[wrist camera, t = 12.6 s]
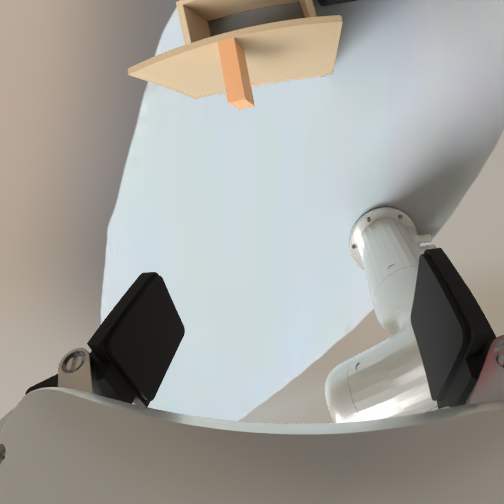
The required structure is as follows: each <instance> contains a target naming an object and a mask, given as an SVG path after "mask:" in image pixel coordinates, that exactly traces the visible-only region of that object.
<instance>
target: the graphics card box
mask: <svg viewBox="0 0 504 504" xmlns="http://www.w3.org/2000/svg"><path fill="white" fill-rule="evenodd" d="M318 1H319V3H320V5H321V6H327V5H332V4H337V3H343V2H349V1H356V0H318Z"/></svg>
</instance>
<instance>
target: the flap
mask: <svg viewBox="0 0 504 504" xmlns="http://www.w3.org/2000/svg"><path fill="white" fill-rule="evenodd" d="M342 24H343V21H342V18H341V15H334V16H319V17H308V18H300V19H292V20H285V21H278V22H272V23H267V24H261V25H256V26H252V27H247V28H243V29H238V30H234V31H230V32H226V33H223V34H219V35H215V36H212V37H209V38H205V39H202V40H199V41H196V42H193V43H190V44H187V45H184V46H181V47H178V48H176V49H173V50H170V51H168V52H165V53H163V54H160V55H158V56H155V57H153V58H150V59H148V60H146V61H144V62H141V63H139V64H137V65H135V66H132V67H131V68H128V75H131V76H134V77H137V78H140V79H143V80H146V81H149V82H152V83H155V84H158V85H160V86H163V87H166V88H169V89H171V90H174V91H177V92H179V93H182V94H184V95H187V96H189V97H192V98H194V99H198V98H202V97H205V96H209V95H213V94H216V93H220V92H224V91H226V94H227V100H228V103H229V104H231V105H233V106H234V107H236V108H238V109H244V108H249V107H254V100H253V95H252V90H251V85H256V84H262V83H267V82H273V81H279V80H285V79H292V78H299V77H307V76H316V75H326V74H333V69H334V65H335V60H336V55H337V50H338V45H339V40H340V34H341V29H342Z"/></svg>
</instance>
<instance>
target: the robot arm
mask: <svg viewBox="0 0 504 504" xmlns="http://www.w3.org/2000/svg"><path fill="white" fill-rule="evenodd" d="M398 215H400V216H398ZM368 217H370V218H368ZM421 242H424V243H425V242H431V235H430V234H423V235H419V234H417V231H416V227H415V225H414V223H413V222H412V220H411V219H410V218H409V217H408V216H407V215H406V214H405V213H404V212H402V211H400V210H398V209H395V208H389V207H383V208H377V209H374V210H372V211H370V212H368V213H366V214H365V215H363V216H362V217H361V218H360V219H359V220H358V221H357V222H356V224H355V225H354V227H353V229H352V231H351V234H350V238H349V247H350V252H351V255H352V258H353V260H354V261H355V263H356V264H357V265H358V266H359V267H360V268H362V269H363V270H365V274H366V278H367V281H368V285H369V289H370V293H371V297H372V302H373V306H374V310H375V314H376V316H377V319H378V321H379V323H380V324H381V326H382V327H383V328H384V329H385V330H386V331H387V332H389V333H390V334H391V335H392V336H391V337H389V338H387V339H386V340H384V341H383V342H381V343H380V344H377V345H375V346H374V347H372V348H370V349H368V350H366V351H364V352H362V353H360V354H358V355H356V356H354V357H352V358H351V359H349V360H346V361H345V362H343V363H341V364H339V365H338V366H336V367H335V368H334V369H333V370H332V371H331V372H330V374H329V375H328V377H327V380H326V384H325V396H326V402H327V405H328V408H329V411H330V414H331V416H332V418H333V421H334V423H325V424H271V423H253V422H240V421H229V420H219V419H211V418H204V417H197V416H190V415H184V414H178V413H172V412H167V411H162V410H157V409H152V408H147V407H148V405H149V403H150V401H152V400H153V399H154V397H155V395H156V393H157V391H158V389H159V387H160V385H161V382H162V380H163V378H164V376H165V374H166V372H167V370H168V368H169V365H170V363H171V361H172V359H173V357H174V355H175V353H176V351H177V349H178V347H179V344H180V342H181V340H182V338H183V336H184V332H185V329H184V326H183V323H182V321H181V319H180V317H179V315H178V313H177V310H176V308H175V306H174V304H173V301H172V299H171V297H170V295H169V292H168V290H167V288H166V285H165V283H164V280H163V278H162V277H161V276H159V275H158V274H157V273H156V272H149V273H142V274H141V275H140V276H139V277H138V278H137V279H136V281H135V282H134V283H133V284H132V286H131V287H130V288H129V289H128V291H127V292H126V293H125V294H124V296H123V297H122V298H121V299H120V301H119V302H118V303H117V305H116V306H115V307H114V308H113V310H112V311H111V312H110V314H109V315H108V316H107V318H106V319H105V320H104V321H103V323H102V324H101V325H100V327H99V328H98V330H97V331H96V332H95V334H94V335H93V336H92V338H91V339H90V341H89V342H88V343H87V344H88V346H89V347H90V348H91V350H92V351H91V353H89V352H88V351H87V350H86V349H84V348H77V349H74V350H72V351H70V352H69V353H67V354H66V355H65V356H64V357H63V359H62V360H61V362H60V364H59V368H58V374H56V375H55V376H52V377H50V378H49V379H46V380H45V381H43V382H40V383H38V384H36V385H34V386H32V387H30V388H29V389H28V390H27V391H26V395H25V396H24V397H23V398H22V400H21V401H20V402H19V403H18V405H17V406H16V407H15V408H14V409H13V410H12V411H10V412H9V413H8V414H7V415H5V416H4V417H3V418H2V419H1V420H0V504H504V335H502V336H499V337H497V338H496V336H495V334H494V332H493V330H492V328H491V326H490V324H489V323H488V321H487V319H486V317H485V315H484V313H483V312H482V310H481V308H480V306H479V305H478V303H477V301H476V299H475V298H474V296H473V295H472V293H471V291H470V290H469V288H468V287H467V285H466V284H465V283H464V281H463V279H462V278H461V276H460V275H459V273H458V272H457V270H456V269H455V267H454V266H453V264H452V263H451V261H450V260H449V258H448V257H447V256H446V254H445V253H444V251H443V250H442V249H441V248H436V247H435V245H426V246H421V247H420V246H419V245H418V244H419V243H421ZM353 244H355V245H353ZM133 402H134V404H135V405H134V404H132V403H133ZM436 407H438V409H437V410H434V411H430V410H432V409H434V408H436ZM428 411H429V412H428Z"/></svg>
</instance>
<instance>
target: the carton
mask: <svg viewBox="0 0 504 504" xmlns="http://www.w3.org/2000/svg"><path fill="white" fill-rule="evenodd" d="M297 2H300V4H301V8H302V11H303V15H304V18H308V17H317V16H316V12H315V9H314V5H313V2H312V0H180V1H178V2H176V4H177V9H178V14H179V18H180V23H181V27H182V32H183V36H184V41H185V45H187V44H190V43H193V42H196V41H199V40H202V39H205V38H209V37H211V33H210V28H209V24H208V21H211V20H214V19H217V18H221V17H225V16H228V15H232V14H236V13H240V12H245V11H249V10H254V9H259V8H264V7H270V6H275V5H282V4H289V3H297ZM323 76H325V75H316V76H307V77H299V78H292V79H285V80H279V81H273V82H267V83H262V84H256V85H251V87H255V86H260V85H266V84H271V83H277V82H284V81H290V80H297V79H305V78H314V77H323ZM223 93H226V91H224V92H220V93H216V94H223Z"/></svg>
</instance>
